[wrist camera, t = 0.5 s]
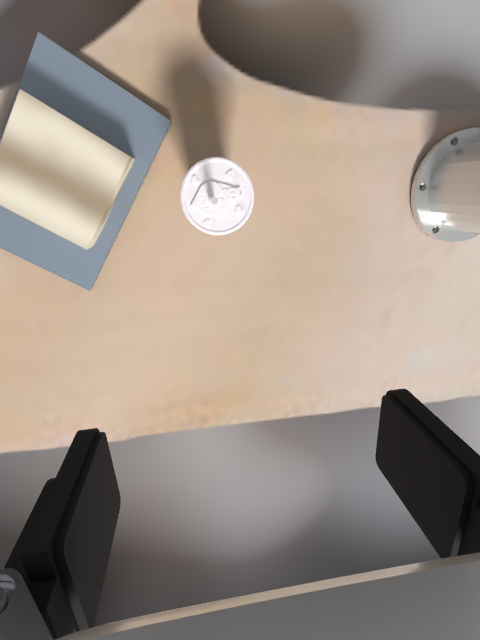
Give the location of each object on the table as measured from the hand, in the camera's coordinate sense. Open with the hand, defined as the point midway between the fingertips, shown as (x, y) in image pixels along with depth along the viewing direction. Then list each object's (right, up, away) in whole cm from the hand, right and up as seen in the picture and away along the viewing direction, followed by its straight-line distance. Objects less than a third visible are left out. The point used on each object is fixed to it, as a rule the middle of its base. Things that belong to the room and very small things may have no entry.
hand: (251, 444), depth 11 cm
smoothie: (-3, +18, +27) cm, 32 cm away
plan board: (-18, +19, +24) cm, 36 cm away
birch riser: (-18, +19, +24) cm, 36 cm away
